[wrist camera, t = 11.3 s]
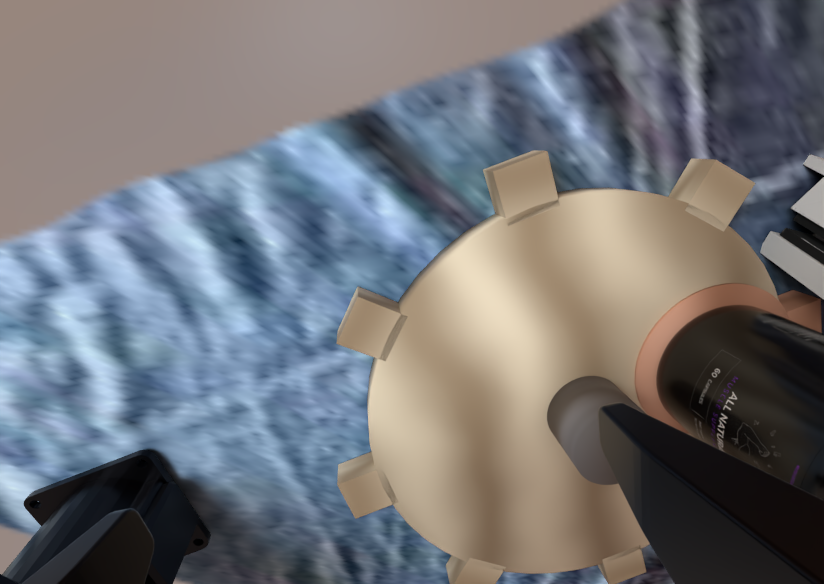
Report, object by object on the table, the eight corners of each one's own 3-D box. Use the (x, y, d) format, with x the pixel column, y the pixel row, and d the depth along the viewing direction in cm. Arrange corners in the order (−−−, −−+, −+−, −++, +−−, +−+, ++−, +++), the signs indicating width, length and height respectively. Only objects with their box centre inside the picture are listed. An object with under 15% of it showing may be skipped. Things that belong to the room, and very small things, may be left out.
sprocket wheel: (425, 630, 28) (437, 715, 24) (233, 264, 20) (200, 298, 15) (803, 484, 29) (881, 543, 24) (780, 55, 20) (897, 32, 16)
